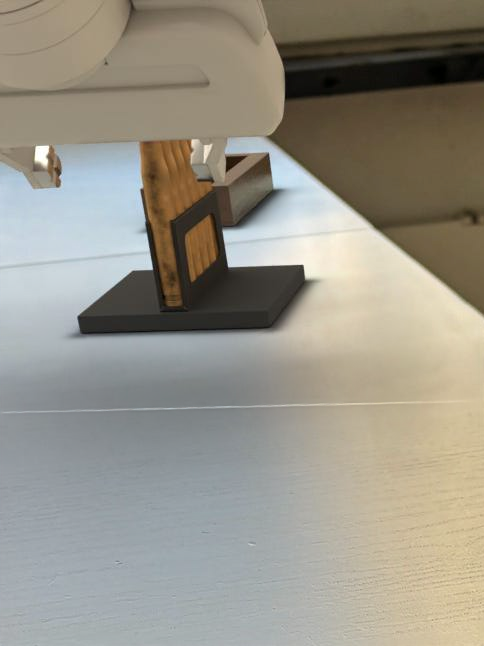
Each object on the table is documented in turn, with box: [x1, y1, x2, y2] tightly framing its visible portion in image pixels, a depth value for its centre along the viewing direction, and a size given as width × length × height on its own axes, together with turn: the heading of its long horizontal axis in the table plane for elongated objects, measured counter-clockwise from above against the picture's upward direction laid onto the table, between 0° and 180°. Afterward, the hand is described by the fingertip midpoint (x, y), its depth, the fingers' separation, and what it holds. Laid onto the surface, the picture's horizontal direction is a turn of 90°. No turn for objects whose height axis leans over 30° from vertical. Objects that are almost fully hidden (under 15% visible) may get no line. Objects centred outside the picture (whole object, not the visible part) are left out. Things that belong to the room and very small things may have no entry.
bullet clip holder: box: [139, 151, 275, 228], centre depth 114 cm, size 7×16×3 cm, turn 175°
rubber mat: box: [76, 264, 306, 334], centre depth 88 cm, size 12×12×1 cm
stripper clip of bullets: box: [138, 140, 229, 312], centre depth 84 cm, size 11×2×12 cm, turn 175°
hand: (130, 174), depth 75 cm, fingers open, 8 cm apart
